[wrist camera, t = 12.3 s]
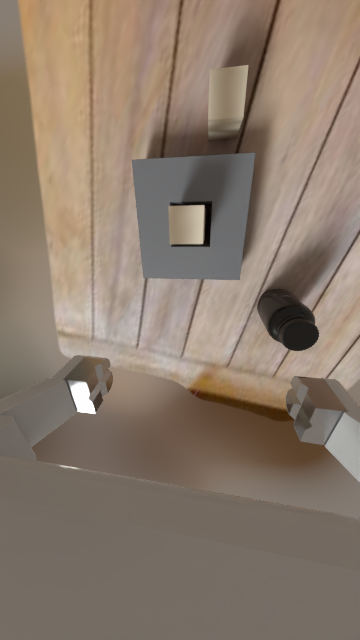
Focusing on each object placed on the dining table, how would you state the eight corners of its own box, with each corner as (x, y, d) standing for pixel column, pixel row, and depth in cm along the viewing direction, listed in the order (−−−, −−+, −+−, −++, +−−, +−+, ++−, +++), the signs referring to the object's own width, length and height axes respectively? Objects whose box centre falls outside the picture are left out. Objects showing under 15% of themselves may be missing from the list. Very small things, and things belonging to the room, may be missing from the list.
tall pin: (205, 211, 32) (204, 205, 21) (204, 237, 33) (202, 244, 23) (181, 212, 32) (168, 206, 22) (181, 237, 34) (169, 244, 23)
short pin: (240, 98, 25) (248, 64, 20) (236, 137, 27) (243, 117, 22) (209, 101, 26) (209, 69, 21) (208, 140, 28) (208, 119, 22)
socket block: (248, 163, 28) (255, 152, 24) (235, 272, 35) (239, 279, 31) (143, 169, 30) (131, 159, 26) (151, 271, 37) (143, 277, 33)
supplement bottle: (288, 281, 35) (323, 306, 24) (298, 312, 37) (334, 348, 26) (250, 296, 37) (267, 326, 26) (262, 325, 39) (282, 363, 29)
